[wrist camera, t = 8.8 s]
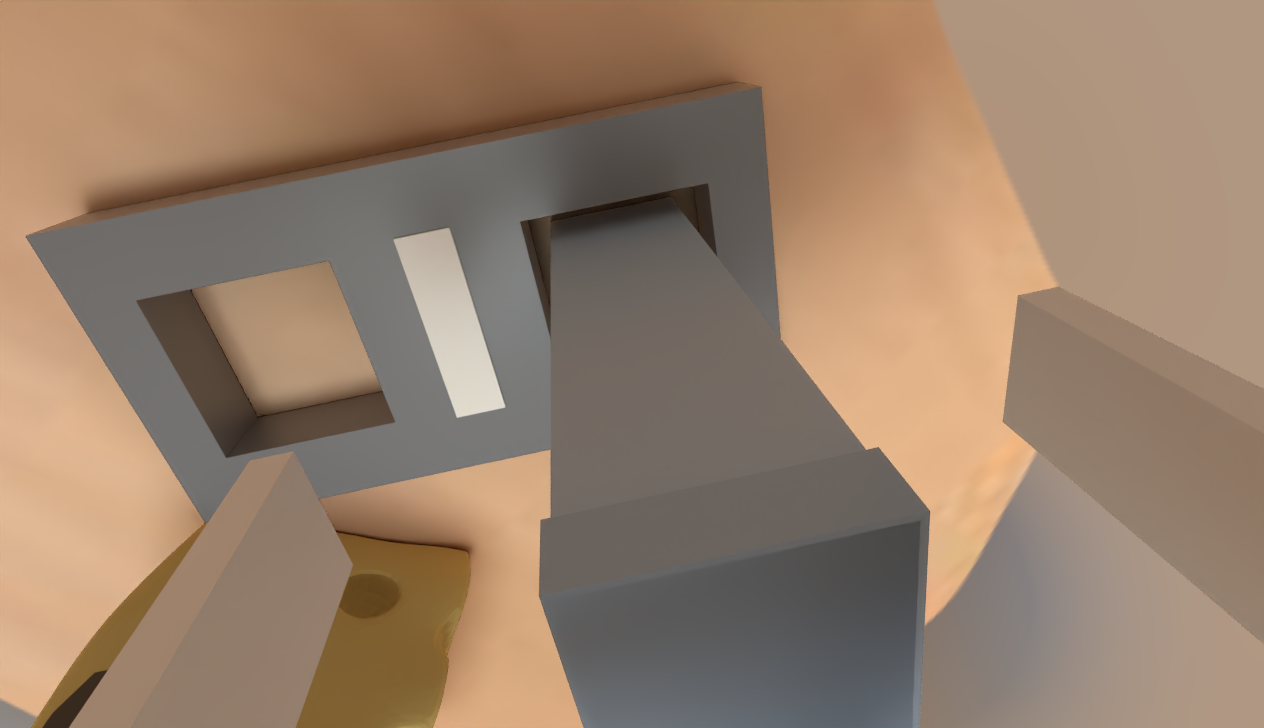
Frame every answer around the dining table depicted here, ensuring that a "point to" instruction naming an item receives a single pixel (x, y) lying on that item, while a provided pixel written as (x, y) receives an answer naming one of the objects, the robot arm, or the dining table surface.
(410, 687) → the cheese
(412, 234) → the port panel
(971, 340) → the dining table surface
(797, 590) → the plug
